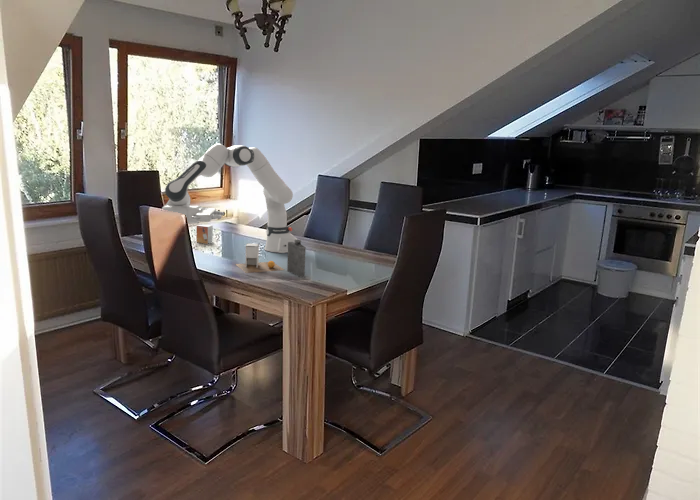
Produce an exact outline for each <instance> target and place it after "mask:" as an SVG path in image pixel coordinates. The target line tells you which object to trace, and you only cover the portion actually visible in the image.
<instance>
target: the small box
mask: <svg viewBox="0 0 700 500" xmlns="http://www.w3.org/2000/svg"><path fill="white" fill-rule="evenodd" d="M213 226H214V225H209V224H208V225H207V224H198V225H196V232H195V233H196V243H199V244H205V245H209V244H212V243H213V234H214V233H213V231H214V230H213V228H214V227H213ZM211 242H212V243H211ZM208 243H209V244H208Z"/></svg>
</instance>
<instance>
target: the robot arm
mask: <svg viewBox="0 0 700 500" xmlns="http://www.w3.org/2000/svg"><path fill="white" fill-rule="evenodd" d="M224 165H225V166H227V167H235V168H236V167H237V168H238V167H241V166H247V167H248V169H249V170H250V172H251V173H252V174H253V176H254V177H255V179H256V180H257V182H258V184H260V185H261V186H262V187H263V191H262V192H263V195H264V198H265V204H266V209H267V225H266V231H265V233H266V240H265V245H264V248H263V249H264V251H267V252H272V253H280V254H285V253H288V242H295V240H299V239H298V238H297V237H296V236H294V235H293V234H292V233H291V232H292V231H293V227H289V226H287V225H288V224H287V223H288V219H287V216H288V212H287V210H286V206H285V205H286V204H288V203H290V202H291V201H292V199H293V197H294V194H293V190H292V189H291V188H290V187H289V186H288V185H287V184H286V182H285V181H284V180H283V179H282V177H280V175H279V174H278V173H277V172H276V171H275V170H274V168H273V167H272V165H271V163H270V162H269V161H268V159H267V158H266V155H264V153H263V152H262V151H261V150H260V149H259V148H258V147H254V146H253V147H248V146H246V145H232V146H229V147H226V145H223V144H222V143H215V144H213V145H212V146H211V147H209V148H208V149H207V150H206V151H205V152H204V154H203V155H202V156H201V157H200V158H199V159H198V160H196V161H194V162H193V163H192V164H191V165H189V167H188V168H187V169H185V170H184V171H183V172H182V173H181V174H180V175H179V176H177V178H175V179H173V180H171V181H169V182H168V183H167V184H166V186H165V189H164V192H165V193H164V194H165V195H166V197H167V198H168V201H167V202H166V203H165V204H164V205H163V206H162V207H161V210H162V209H164V210H168V211H173V212H178V213H182V214H185V215H186V217H187V221H188V223H187V224H199V223H200V222H202V223H209V222H210V223H211V221H212V220H221V219H222V216H224V215H225V211H219V210H217V209H216V208H214V207H203V206H200V205H191V202H192V201H191V196H190V194H189V191H188V188H189V186H190V185H191V184H192V183H193V182H194V181H195V180H196V179H198V177H200V176H202V177H204V178H205V177H206V178H211V177H214V175H216V174H217V173H218V172H219V171H220V169H221V168H222V167H223V166H224Z"/></svg>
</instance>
